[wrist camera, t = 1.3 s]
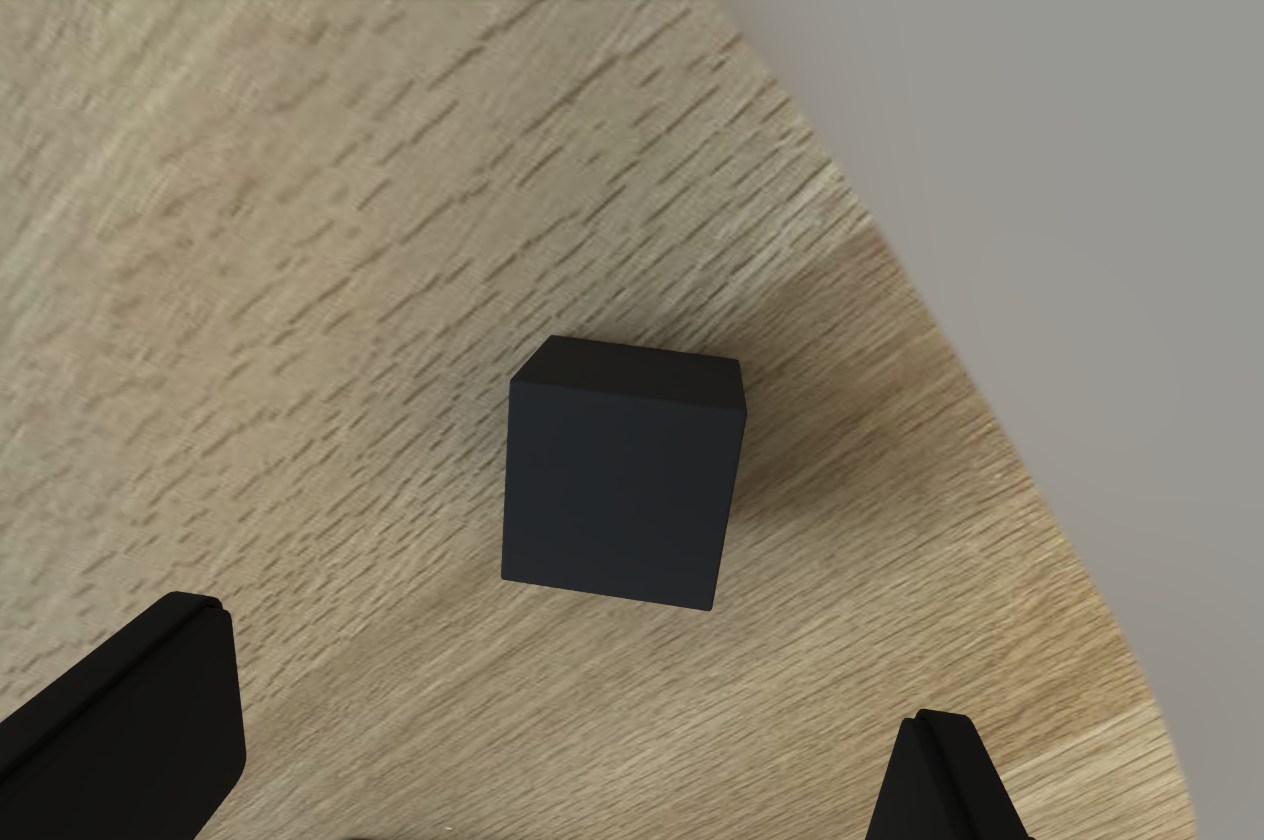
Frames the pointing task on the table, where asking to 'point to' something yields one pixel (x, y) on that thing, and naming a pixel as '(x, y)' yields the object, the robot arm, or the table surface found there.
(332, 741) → the table surface
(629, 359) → the black cube
